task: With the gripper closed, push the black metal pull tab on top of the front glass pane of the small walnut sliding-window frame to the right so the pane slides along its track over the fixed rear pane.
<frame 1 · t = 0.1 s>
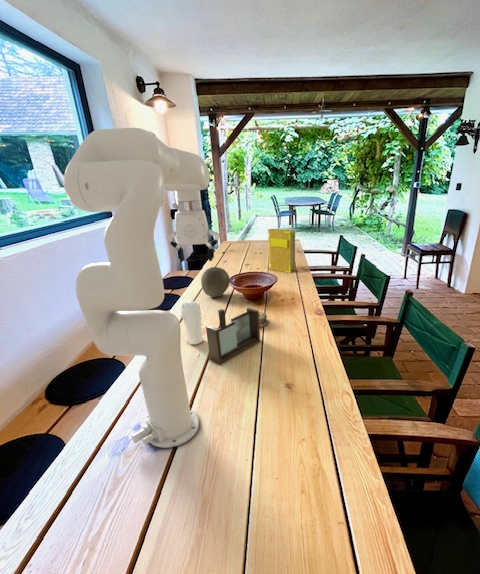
hand: (196, 260, 108), 31 cm above the table, tool pointing down, fingers open, 9 cm apart
cantaloupe: (216, 296, 167), on the table
cake: (255, 323, 135), on the table
drinking glass: (195, 342, 122), on the table
sliding pane: (225, 331, 107), point 9 cm above the table, slide at 0.0 cm
book: (281, 270, 207), on the table
window frame: (236, 350, 115), on the table
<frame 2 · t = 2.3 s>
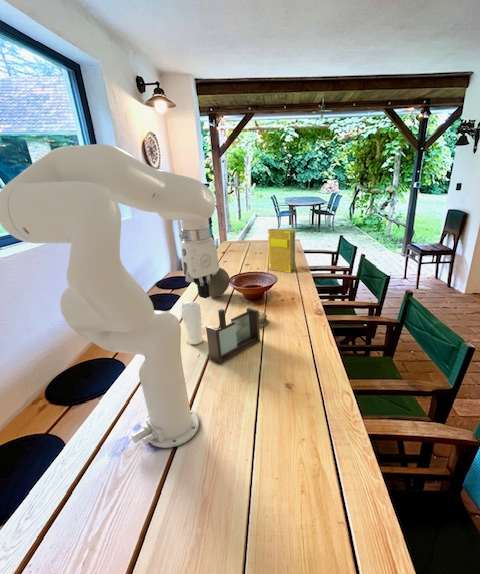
hand: (204, 296, 97), 24 cm above the table, tool pointing down, fingers closed
nothing on the table moved.
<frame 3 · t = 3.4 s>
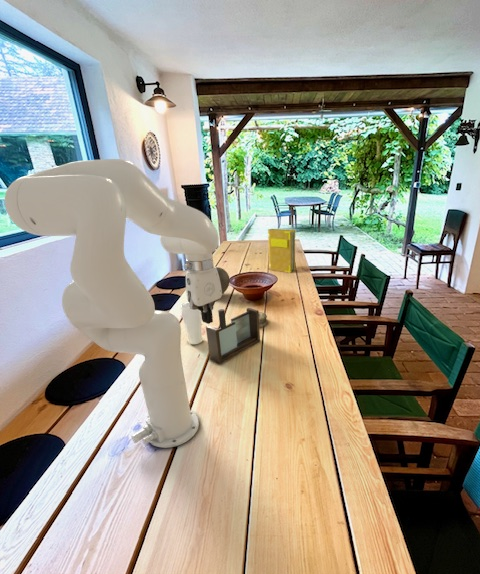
hand: (207, 321, 100), 16 cm above the table, tool pointing down, fingers closed
nothing on the table moved.
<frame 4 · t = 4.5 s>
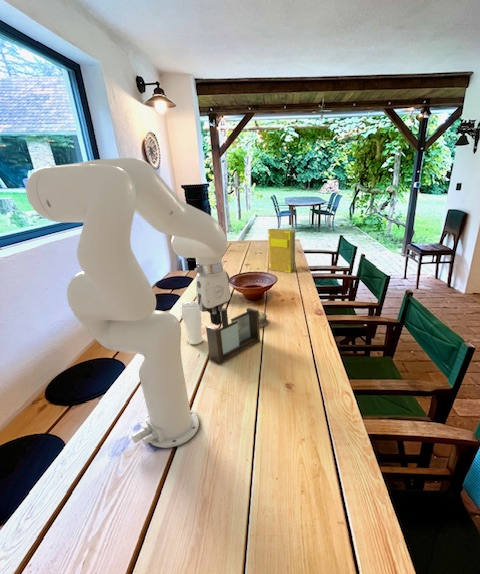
hand: (216, 323, 103), 14 cm above the table, tool pointing down, fingers closed
sliding pane: (228, 330, 108), point 9 cm above the table, slide at 1.0 cm, touching gripper
everything else where it was.
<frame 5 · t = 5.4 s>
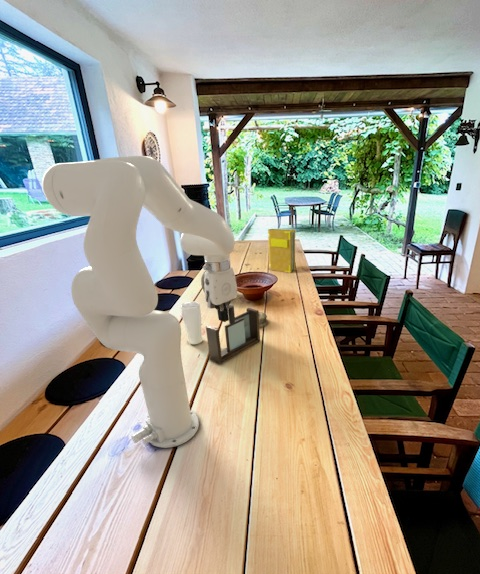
hand: (223, 320, 105), 14 cm above the table, tool pointing down, fingers closed
sliding pane: (234, 327, 110), point 9 cm above the table, slide at 4.1 cm, touching gripper
everything else where it was.
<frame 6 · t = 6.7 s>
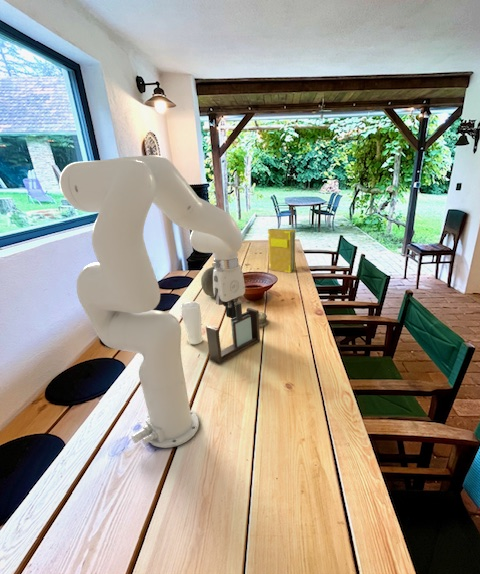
hand: (231, 316, 108), 14 cm above the table, tool pointing down, fingers closed
sliding pane: (242, 323, 112), point 9 cm above the table, slide at 7.5 cm, touching gripper
everything else where it was.
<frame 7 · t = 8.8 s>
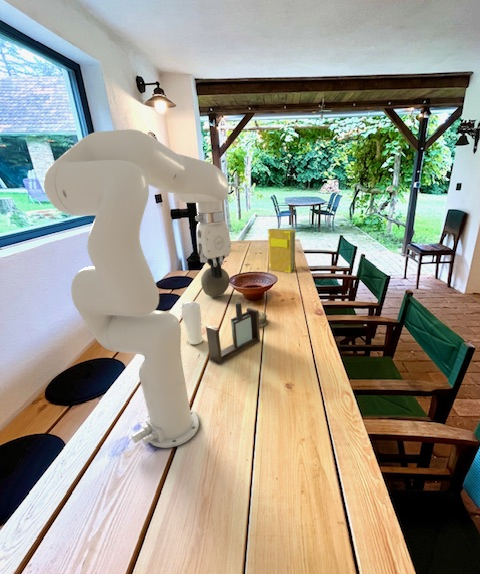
hand: (217, 277, 103), 27 cm above the table, tool pointing down, fingers closed
sliding pane: (242, 323, 112), point 9 cm above the table, slide at 7.6 cm
everything else where it was.
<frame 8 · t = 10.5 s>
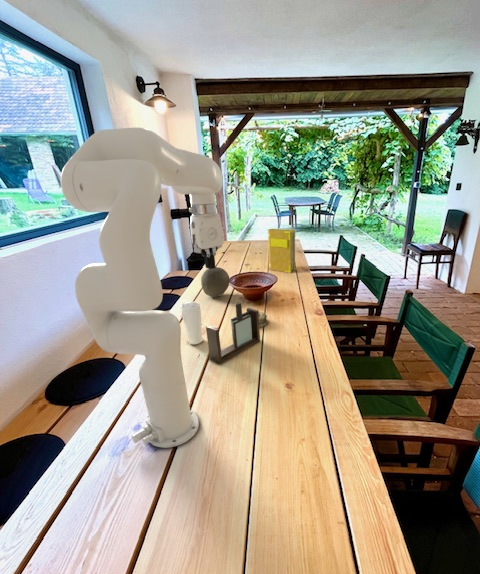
hand: (210, 267, 107), 29 cm above the table, tool pointing down, fingers closed
nothing on the table moved.
at the end: sliding pane slide at 7.6 cm; the gripper is holding nothing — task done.
